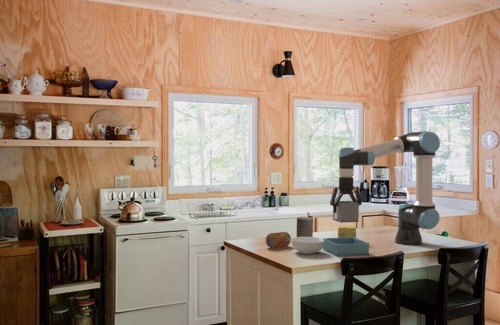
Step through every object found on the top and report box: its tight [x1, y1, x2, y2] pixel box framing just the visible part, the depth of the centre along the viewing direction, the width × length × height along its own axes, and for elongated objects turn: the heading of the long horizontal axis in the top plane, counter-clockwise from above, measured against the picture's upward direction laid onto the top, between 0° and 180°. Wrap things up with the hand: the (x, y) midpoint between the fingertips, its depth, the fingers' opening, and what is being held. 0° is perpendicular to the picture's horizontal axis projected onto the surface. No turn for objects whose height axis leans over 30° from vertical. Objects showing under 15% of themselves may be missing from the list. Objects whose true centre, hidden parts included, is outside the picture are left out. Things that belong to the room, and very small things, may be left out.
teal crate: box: [322, 237, 370, 257], centre depth 256 cm, size 18×18×6 cm
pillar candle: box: [296, 215, 314, 237], centre depth 287 cm, size 10×10×15 cm
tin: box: [265, 231, 292, 249], centre depth 268 cm, size 15×3×8 cm, turn 117°
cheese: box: [337, 225, 357, 238], centre depth 279 cm, size 10×11×10 cm
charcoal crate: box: [332, 200, 360, 223], centre depth 256 cm, size 10×10×10 cm
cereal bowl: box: [291, 236, 324, 255], centre depth 254 cm, size 17×17×7 cm
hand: (345, 218), depth 256 cm, fingers closed on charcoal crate, 10 cm apart
